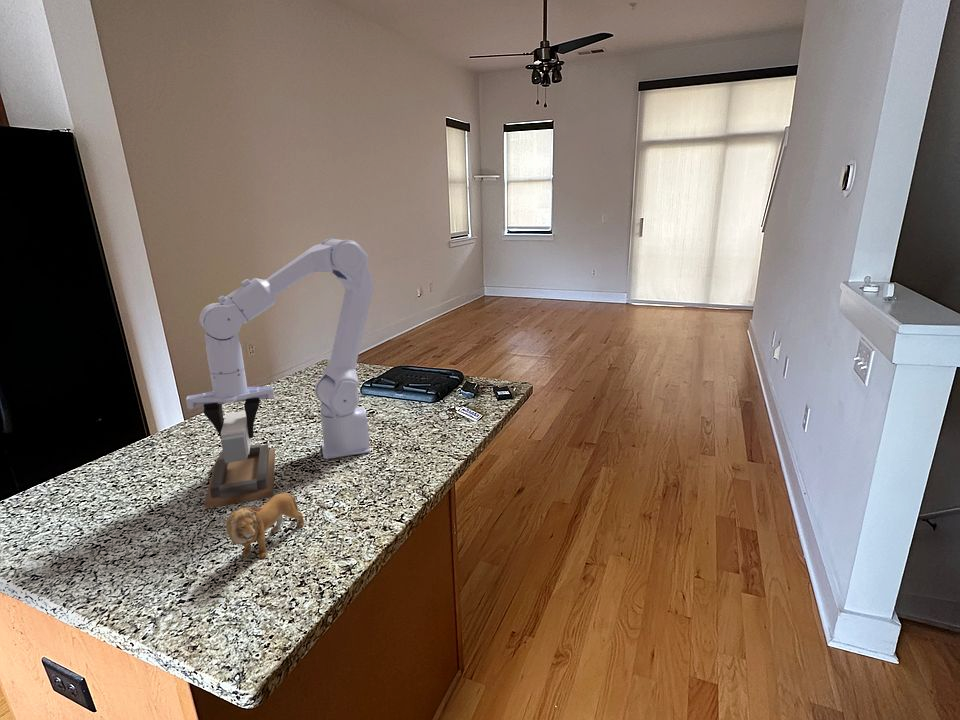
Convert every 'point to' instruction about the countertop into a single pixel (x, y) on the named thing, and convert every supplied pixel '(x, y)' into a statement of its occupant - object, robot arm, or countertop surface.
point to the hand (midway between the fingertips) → (238, 438)
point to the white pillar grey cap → (235, 437)
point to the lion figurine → (261, 522)
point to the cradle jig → (242, 478)
